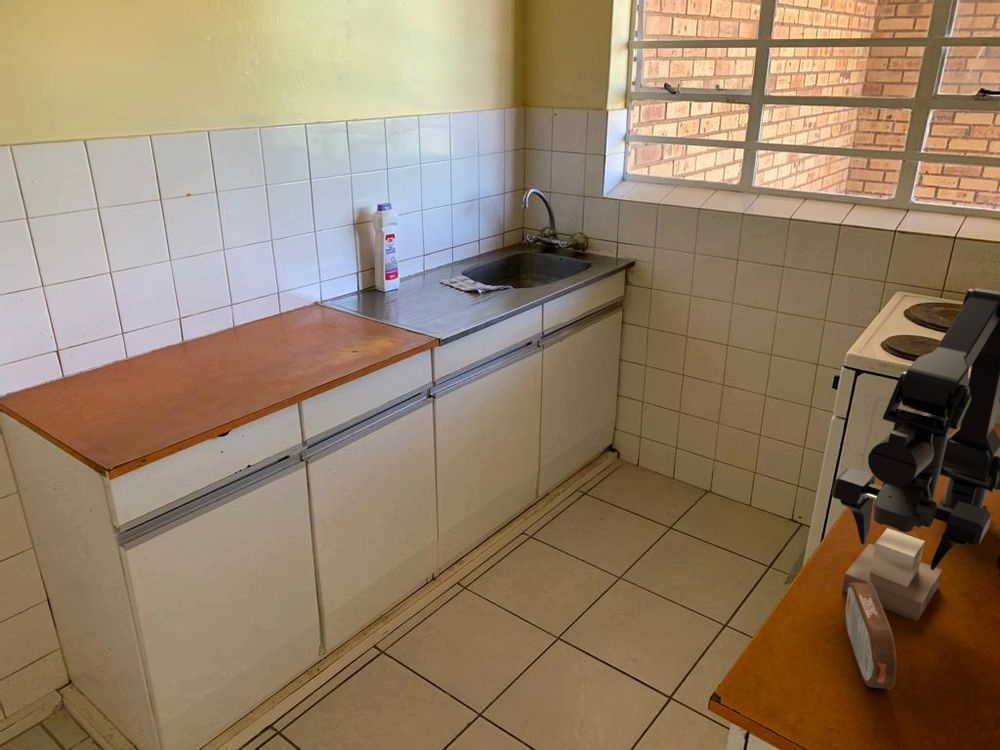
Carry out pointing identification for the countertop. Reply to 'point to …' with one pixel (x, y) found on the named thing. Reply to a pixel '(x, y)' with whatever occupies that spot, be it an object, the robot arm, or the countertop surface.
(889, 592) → the base
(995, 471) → the robot arm
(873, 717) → the countertop surface
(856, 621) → the tin
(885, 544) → the block
